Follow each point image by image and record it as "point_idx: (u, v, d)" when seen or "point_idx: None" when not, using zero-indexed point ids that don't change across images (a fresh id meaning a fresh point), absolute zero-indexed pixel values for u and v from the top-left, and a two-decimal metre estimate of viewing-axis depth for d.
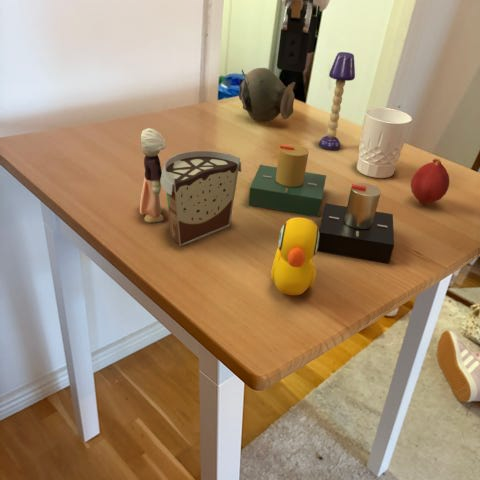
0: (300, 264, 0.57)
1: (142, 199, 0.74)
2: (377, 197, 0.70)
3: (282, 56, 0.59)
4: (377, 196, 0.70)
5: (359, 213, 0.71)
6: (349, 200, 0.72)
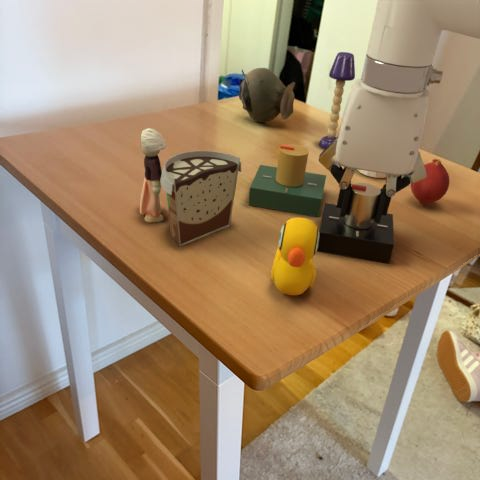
0: (300, 264, 0.57)
1: (142, 199, 0.74)
2: (377, 197, 0.70)
3: (381, 213, 0.72)
4: (377, 196, 0.70)
5: (359, 213, 0.71)
6: (349, 200, 0.72)
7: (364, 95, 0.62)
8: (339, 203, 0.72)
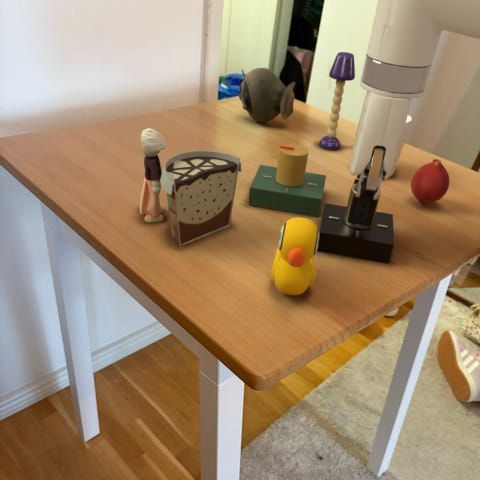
0: (300, 264, 0.57)
1: (142, 199, 0.74)
2: None
3: None
4: None
5: None
6: None
7: (409, 104, 0.61)
8: (367, 216, 0.70)
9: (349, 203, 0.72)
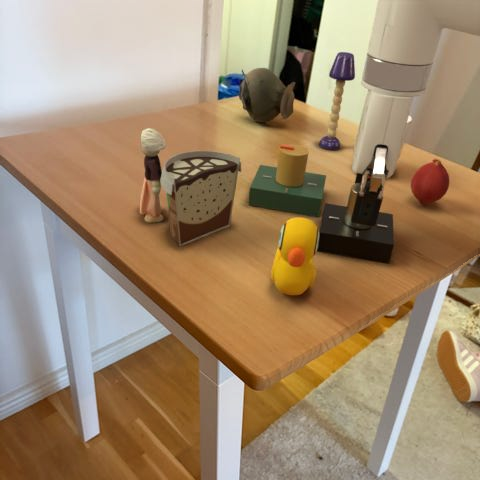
0: (300, 264, 0.57)
1: (142, 199, 0.74)
2: None
3: None
4: None
5: None
6: None
7: (411, 102, 0.61)
8: (372, 215, 0.67)
9: (349, 203, 0.72)
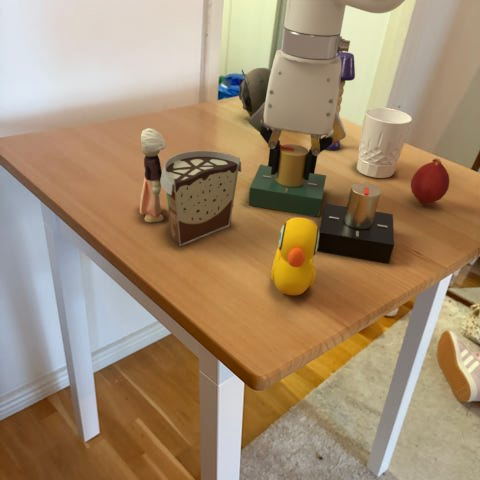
0: (300, 264, 0.57)
1: (142, 199, 0.74)
2: None
3: (309, 171, 0.80)
4: None
5: None
6: (368, 207, 0.71)
7: (283, 62, 0.71)
8: (269, 162, 0.81)
9: (349, 203, 0.72)
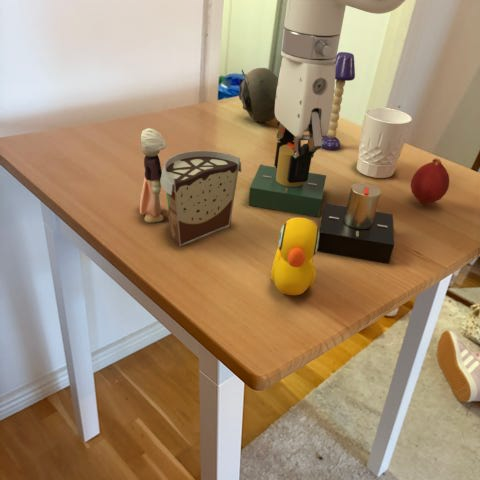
0: (300, 264, 0.57)
1: (142, 199, 0.74)
2: None
3: (292, 174, 0.79)
4: None
5: None
6: (368, 207, 0.71)
7: None
8: None
9: (349, 203, 0.72)
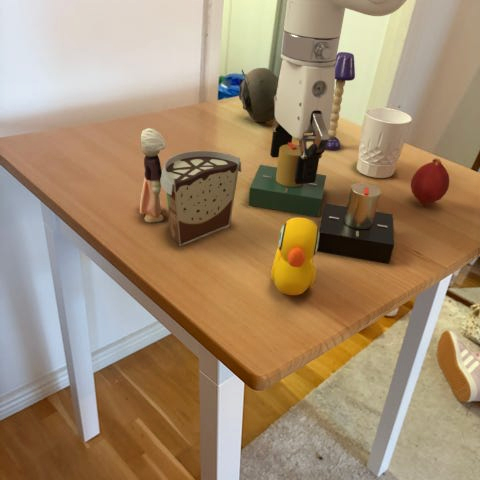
0: (300, 264, 0.57)
1: (142, 199, 0.74)
2: None
3: (299, 175, 0.77)
4: None
5: None
6: (368, 207, 0.71)
7: None
8: None
9: (349, 203, 0.72)
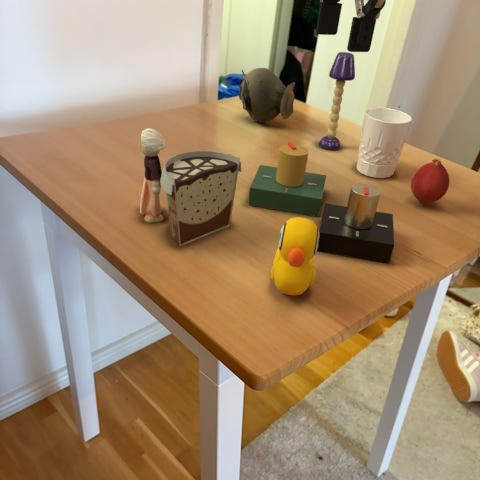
0: (300, 264, 0.57)
1: (142, 199, 0.74)
2: None
3: (353, 40, 0.69)
4: None
5: None
6: (368, 207, 0.71)
7: None
8: None
9: (349, 203, 0.72)
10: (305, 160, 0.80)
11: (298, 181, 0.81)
